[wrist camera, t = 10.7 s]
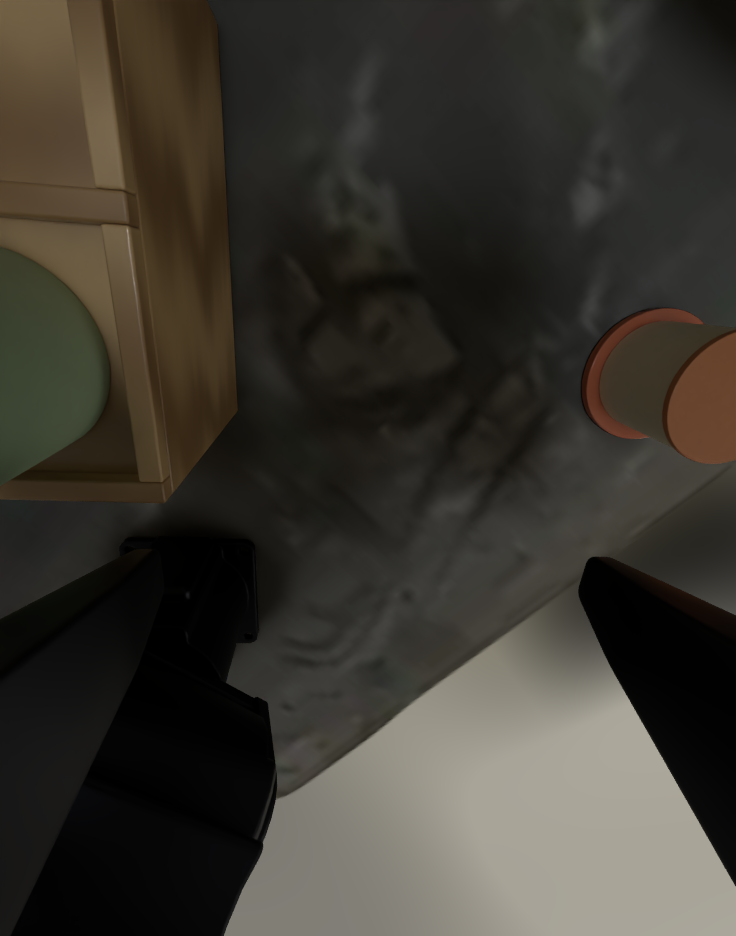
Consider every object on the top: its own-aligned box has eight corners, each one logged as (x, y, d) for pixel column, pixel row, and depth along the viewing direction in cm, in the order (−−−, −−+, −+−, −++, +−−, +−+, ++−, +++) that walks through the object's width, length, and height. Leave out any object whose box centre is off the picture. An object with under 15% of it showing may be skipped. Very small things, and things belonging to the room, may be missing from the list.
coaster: (681, 438, 22) (688, 441, 21) (567, 433, 21) (572, 436, 21) (726, 312, 19) (736, 312, 19) (600, 303, 19) (607, 303, 18)
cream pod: (682, 430, 21) (769, 466, 17) (584, 425, 21) (649, 461, 16) (720, 322, 19) (831, 332, 15) (614, 314, 19) (696, 322, 14)
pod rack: (237, 411, 20) (165, 504, 11) (75, 404, 19) (-130, 496, 11) (217, 23, 14) (57, -338, 6) (-7, -5, 14) (-529, -449, 5)
